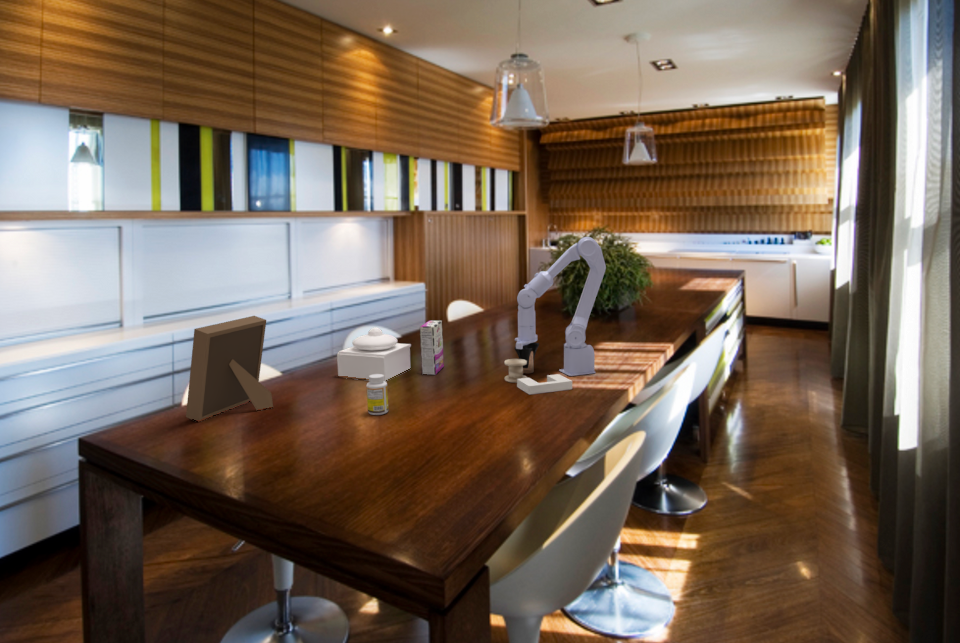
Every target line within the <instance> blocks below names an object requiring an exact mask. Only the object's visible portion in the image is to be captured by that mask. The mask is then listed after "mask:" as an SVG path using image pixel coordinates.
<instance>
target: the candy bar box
mask: <svg viewBox="0 0 960 643" xmlns="http://www.w3.org/2000/svg"><path fill="white" fill-rule="evenodd" d="M419 335H420V337H419V339H420V355H421V356H420V357H421V374H422V375H423V374H427V375H426V376H436V375H437V374H438V373H440V371H441V370H442V369H444V367H445V362H444V339H443V320H428V321H427V322H425V323H423V324H422V325H420V326H419Z"/></svg>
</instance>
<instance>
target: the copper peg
mask: <svg viewBox="0 0 960 643" xmlns="http://www.w3.org/2000/svg"><path fill="white" fill-rule="evenodd" d="M533 373H534V362H533V351H531V353H530V358H529V366H528V368H523V374H533Z"/></svg>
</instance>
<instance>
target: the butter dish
mask: <svg viewBox="0 0 960 643" xmlns="http://www.w3.org/2000/svg"><path fill="white" fill-rule="evenodd" d="M351 345H352V346H350V347H348V348H345V349H342V350H341V349H340V350H339V351H338V352H337V353H336V359H337V361H336V362H337V376H348V377H356V378H366V379H369V376H370V375H373V374H382V375H384V381H385V382H387V381H389V380H388V379H390V378H392V377H394V376H396V375H398V374H400V373H402V372H404V371H406V370H408V369H410V368H411V367H412V366H411V349H410V348H411V347H412V344H411V343H399V342H398V339H397V338H396V337H395V336H393V335H391V334H387V333H383V331H382V329H380V328H379V327H377V326H375V327H371V328H370V330H369V331H368V332H367V334H364V335H360V336H358V337H357V336H356V338H355V339H353V340H352V342H351ZM411 369H412V368H411ZM411 369H410V370H411ZM408 371H409V370H408ZM406 372H407V371H406ZM404 373H405V372H404ZM402 374H403V373H402ZM400 375H401V374H400ZM398 376H399V375H398ZM396 377H397V376H396ZM394 378H395V377H394ZM392 379H393V378H392ZM386 380H387V381H386ZM390 380H391V379H390Z"/></svg>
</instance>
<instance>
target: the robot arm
mask: <svg viewBox="0 0 960 643" xmlns="http://www.w3.org/2000/svg"><path fill="white" fill-rule="evenodd" d="M580 256H581V257H582V259H584V260H585V261H586V263H587V265H588V267H589V271H588V274H587V276H586V277H587V278H586V280H585V283H584V286H583V289H582V293H581V295H580V298H579V301H578V304H577V307H576V309H575V313H574V315H573V317H572V320H571V322H570V324H568V325H567V327H565V331H564V333H565V343H563V368H561V369H560V368H559V370H558V371H559V372H561V373H562V374H564V375H566V376H569V377H573V376H574V377H576V376H582V375H591V374H596V373H597V372H596V370H595V358H596V357H595V350H594V348H593V346H592V345H591V344H587V343H586V342H585V341H586V330H587V327H588V322H589V320H590V319H589V318H590V315H591V312H592V310H593V307H594V304H595V301H596V300H597V299H596V297H597V296H598V293H599V289H600V287H601V284H602V282H603V278H604V275H605V274H606V273H605V272H606V270H607V266H606V262H605V258H604V255H603V250H602V247H601V246H600V245H599V243H598V242H597V241H596V240H595V239H594V238H593V237H592V236H591V237H590V236H584V237H581V238H580V239H579V240H578V242H575V243H574V244H573V245H571V246H570V247H569V248H568V249H566V250H565V251H564V252H563V254H561V256H559V258H558V259H556V261H555V262H554V263H553V264H551V266H550V267H549V268H548V269H547V270H545V271H544V270H542V271H541V270H540V271H539V272H536V273H535V274H534V275H533V276H534V277H533V278H532V279H531V280H530V281H529V282H528V283H525V284H524V285H523V287H524V288H523V289H521V290H520V291H519V292H518V294H517V297H516V300H517V305H518V306H517V309H518V311H517V337H515V338H514V341H515V342H516V343H515V346H514V352H515V353H516V354H517V357H518V359H524V360H526V361H527V364H526V365H523V368H528V366H529V358H530V353H531V351H533V363H534V361H535V357H536V353H537V351H538V348H539V346H540V343H539V342H537V341H538V334H536V332H537V331H536V326H537V325H536V310H535V303H536V301H537V300H536V299H537V298H538V299H539V298H541V297H542V296H543V295H544V294H545V293H546V292H547V291H548V289H550V288H551V287H552V286H553V285H554V278H555V277H557V275H559V273H561V272H562V271H563V269H565V268H566V267H567V266H568V265H569V264H570V263H571V262H575V261H578V260H581V257H580Z"/></svg>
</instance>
